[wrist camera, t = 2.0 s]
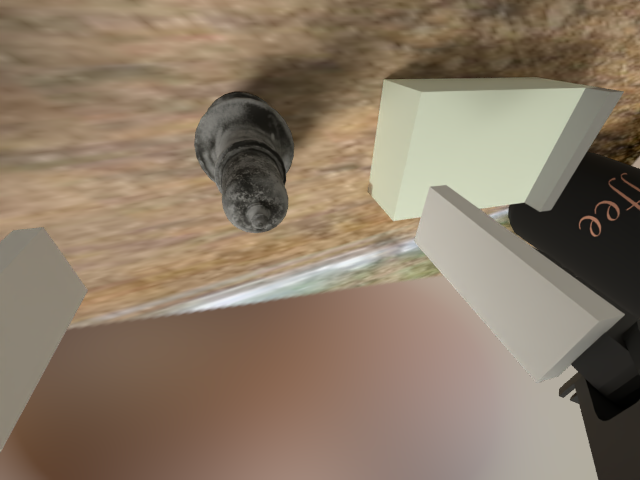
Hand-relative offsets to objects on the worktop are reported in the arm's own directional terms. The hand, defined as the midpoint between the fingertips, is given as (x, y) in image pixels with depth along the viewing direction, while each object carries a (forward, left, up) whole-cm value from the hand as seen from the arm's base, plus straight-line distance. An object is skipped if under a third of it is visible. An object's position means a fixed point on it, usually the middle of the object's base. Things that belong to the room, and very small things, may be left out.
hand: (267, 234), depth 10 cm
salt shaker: (0, 0, -13) cm, 13 cm away
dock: (+15, +9, -12) cm, 21 cm away
